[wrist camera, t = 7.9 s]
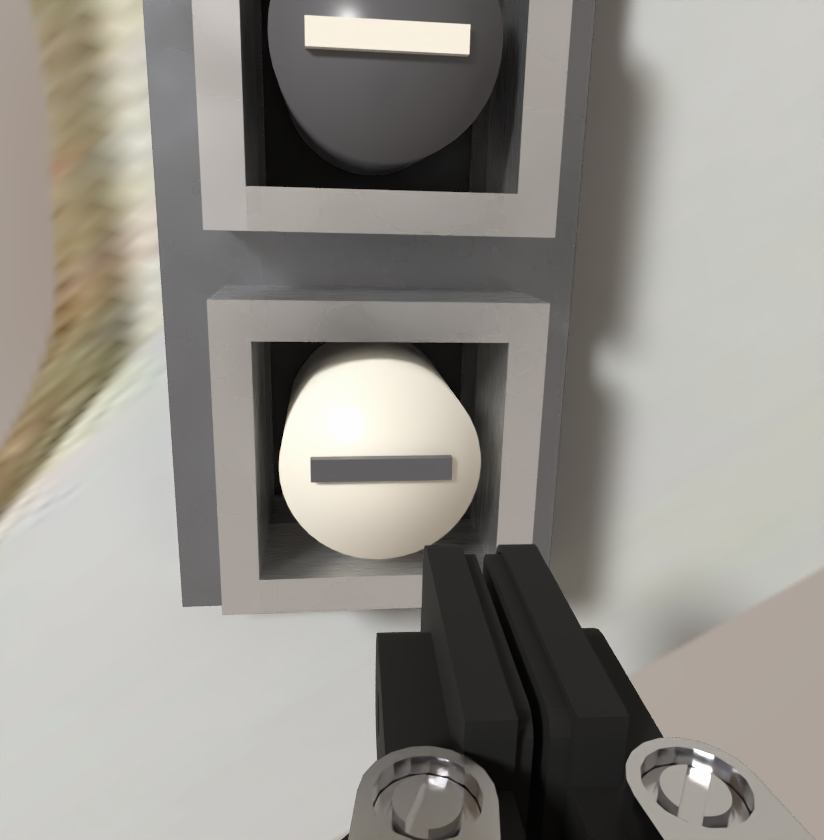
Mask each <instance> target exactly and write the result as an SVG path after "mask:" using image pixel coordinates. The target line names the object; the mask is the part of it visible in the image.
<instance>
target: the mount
mask: <svg viewBox="0 0 824 840" xmlns="http://www.w3.org/2000/svg"><path fill="white" fill-rule="evenodd" d="M498 1H499V5H500V9H501V16H502V25H503V48H502V57H501V63H500V67H499V72H498V76H497V79H496V82H495V84H494V87H493V90H492V92H491V94H490V96H489V98H488V100H487V102H486V104H485V106H484V107H483V109H482V110H481V112H480V113H479V115H478V116H477V118H476V119H475V120H474V121H473V123H472V141H471V164H470V187H469V192H435V191H401V190H367V189H333V188H299V187H266V173H265V136H264V100H263V64H262V27H261V0H143V14H144V29H145V44H146V59H147V74H148V89H149V104H150V120H151V135H152V150H153V165H154V180H155V195H156V210H157V225H158V240H159V255H160V271H161V286H162V301H163V316H164V331H165V346H166V361H167V376H168V391H169V407H170V422H171V437H172V452H173V467H174V482H175V497H176V512H177V527H178V542H179V558H180V573H181V588H182V603H183V607H191V606H219V605H222V615H235V614H261V613H288V612H315V611H342V610H368V609H395V608H421V607H422V576H423V553H424V549H421V550H419V551H417V552H414V553H411V554H408V555H405V556H401V557H396V558H389V559H365V558H358V557H353V556H350V555H346V554H342V553H340V552H338V551H335V550H333V549H331V548H329V547H327V546H326V545H324V544H322V543H320V542H319V541H318V540H316V539H315V538H314V537H312V536H311V535H310V534H309V533H308V532H307V531H306V530H305V529H304V528H303V527H302V526H301V525H300V524H299V522H298V521H297V520H296V518H295V517H294V516H293V514H292V512H291V510H290V509H289V507H288V505H287V502H286V500H285V497H284V495H283V494H282V495H274V463H273V427H272V390H271V354H270V342H453V343H463V349H462V372H461V395H460V403H461V405H462V406H463V407H464V409H465V411H466V412H467V414H468V415H469V417H470V419H471V421H472V423H473V425H474V427H475V430H476V433H477V437H478V440H479V446H480V452H481V468H480V476H479V481H478V485H477V489H476V492H475V494H474V497H473V499H472V501H471V503H470V505H469V507H468V508H467V510H466V512H465V513H464V515H463V516H462V517H461V519H460V520H459V521H458V523H457V524H456V525H455V526H454V527H453V528H452V529H451V530H450V531H449V532H448V533H447V534H445V535H444V536H443V537H442V538H440V539H439V540H437V541H436V542H434V543H433V544H431V545H461V546H462V549H463V552H464V554H475V555H476V557H477V560H478V563H479V566H480V568H481V571H482V573H483V560H484V556H485V554H496V549H497V546H498V545H500V544H535V545H536V546H537V548H538V549H539V551H540V553H541V555H542V557H543V559H544V560H545V562H546V564H547V566H548V568H549V564H550V552H551V539H552V527H553V515H554V503H555V491H556V479H557V466H558V454H559V442H560V430H561V418H562V405H563V393H564V381H565V369H566V357H567V344H568V332H569V320H570V308H571V296H572V284H573V271H574V259H575V247H576V235H577V223H578V210H579V198H580V186H581V174H582V162H583V150H584V137H585V125H586V113H587V101H588V89H589V76H590V64H591V52H592V40H593V28H594V15H595V3H596V0H498Z"/></svg>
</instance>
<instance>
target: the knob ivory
mask: <svg viewBox="0 0 824 840" xmlns="http://www.w3.org/2000/svg"><path fill="white" fill-rule="evenodd" d="M480 468H481V452H480V446H479V440H478V437H477V433H476V430H475V427H474V425H473V423H472V421H471V419H470V417H469V415H468V414H467V412H466V411H465V409H464V407H463V406H462V405H461V403H460V402H459V400H458V399H457V398H456V396H455V395H454V393H453V392H452V391H451V389H450V388H449V386H448V385H447V384H446V382H445V381H444V380H443V378H442V377H441V375H440V374H439V373H438V371H437V370H436V368H435V367H434V366H433V364H432V363H431V361H430V360H429V359H428V358H427V357H426V356H425V354H424V353H423V352H421V351H420V350H419V349H418V348H417V347H416V346H414V345H413V344H411V343H410V342H326V343H325V344H323V345H322V346H320V347H319V348H318V349H317V350H315V351H314V352H313V353H312V354H311V355H310V356H309V357H308V359H307V360H306V361H305V362H304V364H303V365H302V367H301V368H300V370H299V372H298V374H297V376H296V378H295V380H294V383H293V386H292V390H291V395H290V401H289V406H288V412H287V417H286V422H285V428H284V433H283V439H282V444H281V449H280V455H279V476H280V483H281V487H282V492H283V495H284V497H285V500H286V502H287V505H288V507H289V509H290V510H291V512H292V514H293V516H294V517H295V518H296V520H297V521H298V522H299V524H300V525H301V526H302V527H303V528H304V529H305V530H306V531H307V532H308V533H309V534H310V535H311V536H312V537H314V538H315V539H316V540H318V541H319V542H320V543H322V544H324V545H326V546H327V547H329V548H331V549H333V550H335V551H338V552H340V553H342V554H346V555H350V556H353V557H358V558H365V559H389V558H396V557H401V556H405V555H408V554H411V553H414V552H417V551H419V550H421V549H424V547H425V545H431V544H433V543H434V542H436V541H437V540H439V539H440V538H442V537H443V536H444V535H445V534H447V533H448V532H449V531H450V530H451V529H452V528H453V527H454V526H455V525H456V524H457V523H458V521H459V520H460V519H461V517H462V516H463V515H464V513H465V512H466V510H467V508H468V507H469V505H470V503H471V501H472V499H473V497H474V494H475V492H476V489H477V485H478V481H479V476H480Z"/></svg>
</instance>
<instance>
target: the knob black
mask: <svg viewBox="0 0 824 840" xmlns="http://www.w3.org/2000/svg"><path fill="white" fill-rule="evenodd" d="M268 42H269V51H270V56H271V60H272V65H273V68H274V71H275V74H276V77H277V80H278V83H279V86H280V89H281V92H282V95H283V97H284V100H285V103H286V106H287V109H288V112H289V114H290V117H291V119H292V121H293V123H294V125H295V128H296V129H297V131H298V132H299V134H300V135H301V137H302V138H303V140H304V141H305V142H306V143H307V144H308V146H309V147H310V148H311V149H312V150H313V151H314V152H315V153H316V154H318V155H319V156H320V157H321V158H323V159H324V160H326V161H327V162H328V163H330V164H332V165H334V166H336V167H338V168H340V169H343V170H345V171H348V172H352V173H356V174H361V175H384V174H389V173H394V172H397V171H400V170H403V169H405V168H407V167H409V166H411V165H413V164H415V163H417V162H418V161H420V160H422V159H424V158H426V157H427V156H429V155H431V154H433V153H435V152H436V151H438V150H440V149H442V148H443V147H445V146H446V145H448V144H449V143H451V142H452V141H454V140H455V139H456V138H458V137H459V136H460V135H461V134H462V133H463V132H464V131H465V130H466V129H467V128H468V127H469V126H470V125H471V124H472V123H473V121H474V120H475V119H476V118H477V116H478V115H479V113H480V112H481V110H482V109H483V107H484V106H485V104H486V102H487V100H488V98H489V96H490V94H491V92H492V90H493V87H494V84H495V82H496V79H497V76H498V72H499V67H500V63H501V57H502V48H503V25H502V16H501V9H500V5H499V1H498V0H270V6H269V12H268Z"/></svg>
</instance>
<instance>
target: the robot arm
mask: <svg viewBox="0 0 824 840" xmlns="http://www.w3.org/2000/svg"><path fill="white" fill-rule="evenodd" d="M376 743H377V761H375V763H374V764H373V765H372V766H371V767H370V768H369V769H368V770H367V771H366V772H365V774H364V775H363V777H362V780H361V782H360V785H359V787H358V790H357V794H356V800H355V805H354V811H353V816H352V821H351V827H350V832H349V834H348V835H346V836H345V837H344V838H343V839H342V840H815V839H814V838H813V837H812V836H811V835H810V833H809V832H808V831H807V830H806V829H805V828H804V827H803V826H802V825H801V823H800V822H799V821H798V820H797V819H796V818H795V817H794V816H793V815H792V814H791V813H790V811H789V810H788V809H787V808H786V807H785V806H784V805H783V804H782V803H781V802H780V801H779V799H778V798H777V797H776V796H775V795H774V794H773V793H772V792H771V791H770V790H769V789H768V788H767V786H766V785H765V784H764V783H763V782H762V781H761V780H760V779H759V778H758V776H756V774H754V773H753V772H752V771H751V770H750V769H749V768H748V767H746V766H745V765H744V764H743V763H742V762H741V761H740V760H738V759H736V758H735V757H733V756H731V755H730V754H728V753H726V752H724V751H722V750H721V749H719V748H716V747H713V746H711V745H708V744H705V743H702V742H700V741H695V740H690V739H684V738H664V737H663V736H662V734H661V732H660V731H659V729H658V727H657V726H656V724H655V722H654V720H653V719H652V717H651V715H650V714H649V712H648V710H647V709H646V707H645V705H644V704H643V702H642V700H641V699H640V697H639V695H638V693H637V692H636V690H635V688H634V687H633V685H632V683H631V682H630V680H629V678H628V676H627V675H626V673H625V671H624V670H623V668H622V666H621V664H620V663H619V661H618V659H617V658H616V656H615V654H614V653H613V651H612V649H611V648H610V646H609V644H608V642H607V641H606V639H605V637H604V636H603V634H602V633H601V632H600V631H599V629H596V628H581V626H580V624H579V623H578V621H577V619H576V617H575V615H574V613H573V612H572V610H571V608H570V606H569V604H568V602H567V601H566V599H565V597H564V595H563V593H562V591H561V590H560V588H559V586H558V584H557V582H556V581H555V579H554V577H553V575H552V573H551V571H550V570H549V568H548V566H547V564H546V562H545V560H544V559H543V557H542V555H541V553H540V551H539V549H538V548H537V546H536V545H535V544H500V545H498V546H497V549H496V554H485V556H484V560H483V573H482V571H481V568H480V566H479V563H478V560H477V557H476V555H475V554H464V552H463V549H462V546H461V545H425V547H424V553H423V576H422V607H421V632H391V633H377V637H376Z"/></svg>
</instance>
